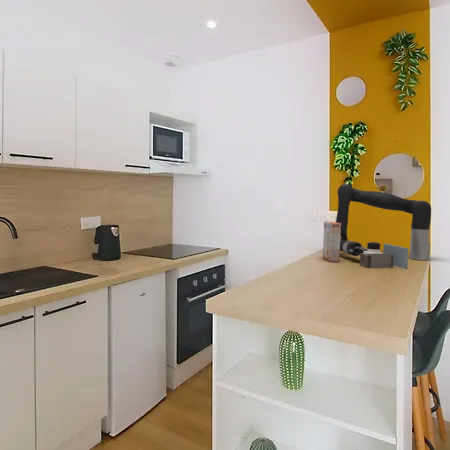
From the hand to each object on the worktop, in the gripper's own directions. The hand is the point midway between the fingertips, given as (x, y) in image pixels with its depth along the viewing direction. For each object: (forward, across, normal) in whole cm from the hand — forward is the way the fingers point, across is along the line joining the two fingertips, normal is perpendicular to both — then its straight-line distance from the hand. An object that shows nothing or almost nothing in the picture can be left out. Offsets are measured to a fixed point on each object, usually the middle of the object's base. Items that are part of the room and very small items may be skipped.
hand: (369, 252), depth 194 cm
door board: (+2, +13, +6) cm, 15 cm away
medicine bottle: (+4, 0, +6) cm, 7 cm away
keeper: (+5, +2, +6) cm, 8 cm away
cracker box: (-16, -13, +7) cm, 22 cm away
